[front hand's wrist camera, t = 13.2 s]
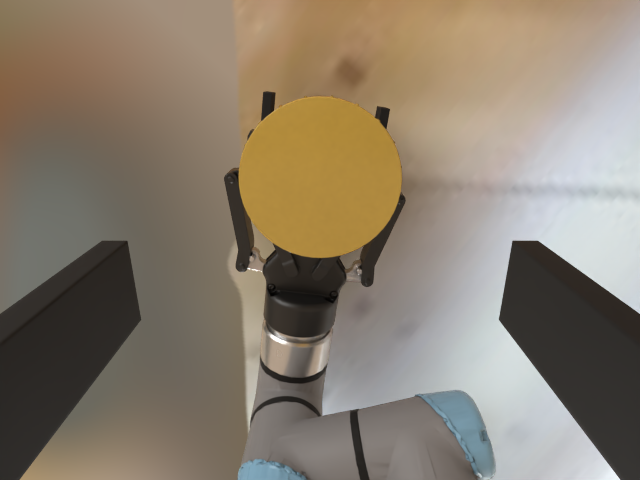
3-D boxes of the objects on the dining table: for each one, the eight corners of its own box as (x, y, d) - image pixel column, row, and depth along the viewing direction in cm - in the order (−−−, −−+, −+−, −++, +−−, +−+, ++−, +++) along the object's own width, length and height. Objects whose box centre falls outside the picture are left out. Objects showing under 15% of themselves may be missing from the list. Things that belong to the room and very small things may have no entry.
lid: (401, 93, 25) (406, 94, 24) (394, 248, 29) (398, 257, 27) (236, 97, 26) (230, 98, 24) (249, 250, 29) (245, 259, 28)
